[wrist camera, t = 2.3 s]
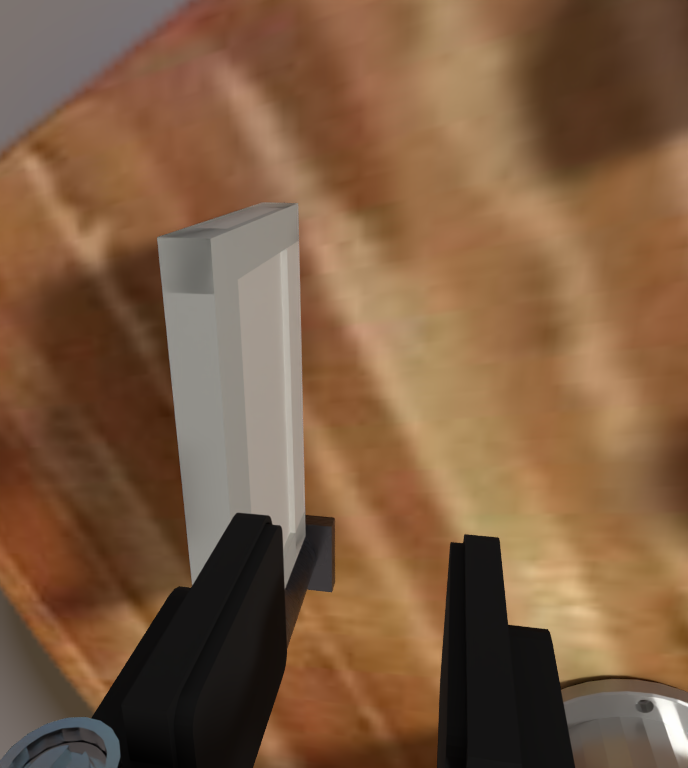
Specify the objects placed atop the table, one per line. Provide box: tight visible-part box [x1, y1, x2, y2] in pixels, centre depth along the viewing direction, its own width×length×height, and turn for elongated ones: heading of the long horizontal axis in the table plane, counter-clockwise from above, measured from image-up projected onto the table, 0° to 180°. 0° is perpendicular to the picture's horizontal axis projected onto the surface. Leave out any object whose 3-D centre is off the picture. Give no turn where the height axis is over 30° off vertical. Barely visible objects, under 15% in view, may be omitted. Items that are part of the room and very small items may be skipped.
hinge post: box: [285, 515, 335, 648], centre depth 28 cm, size 4×4×13 cm
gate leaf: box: [157, 203, 306, 588], centre depth 25 cm, size 16×2×10 cm, turn 0°
